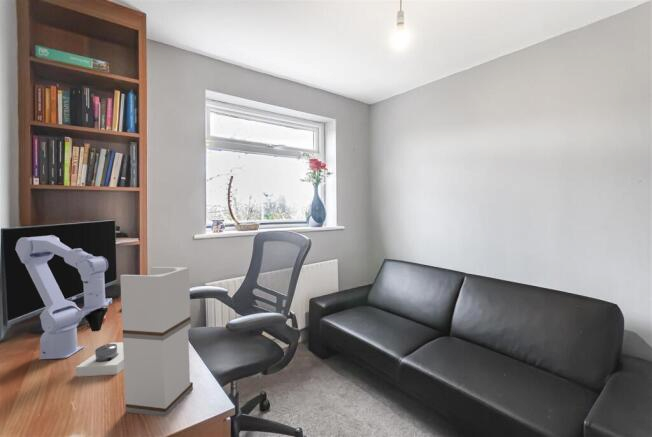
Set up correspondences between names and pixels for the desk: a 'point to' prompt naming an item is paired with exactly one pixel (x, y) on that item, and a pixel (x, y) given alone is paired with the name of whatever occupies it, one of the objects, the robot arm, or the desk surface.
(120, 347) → the plate
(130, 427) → the desk surface
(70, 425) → the desk surface
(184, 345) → the tall white square container
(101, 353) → the cylinder
